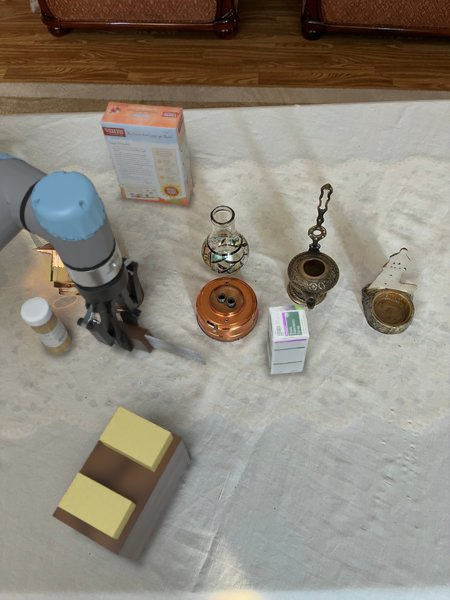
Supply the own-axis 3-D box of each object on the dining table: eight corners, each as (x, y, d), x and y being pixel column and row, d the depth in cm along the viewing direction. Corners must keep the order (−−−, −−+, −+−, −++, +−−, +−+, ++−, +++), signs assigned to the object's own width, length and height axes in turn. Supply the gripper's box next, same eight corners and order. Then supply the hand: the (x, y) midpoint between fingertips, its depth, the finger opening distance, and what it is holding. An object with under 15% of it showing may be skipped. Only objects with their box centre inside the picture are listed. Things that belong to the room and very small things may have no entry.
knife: (107, 338, 94) (97, 326, 91) (114, 327, 95) (104, 315, 92) (203, 372, 84) (195, 359, 81) (210, 359, 85) (202, 346, 82)
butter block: (104, 444, 71) (98, 439, 68) (123, 412, 73) (119, 405, 70) (154, 472, 69) (151, 467, 66) (173, 438, 71) (170, 432, 68)
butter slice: (64, 509, 67) (57, 505, 64) (84, 476, 69) (78, 471, 66) (117, 539, 65) (112, 537, 62) (136, 505, 67) (132, 501, 64)
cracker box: (194, 186, 111) (184, 106, 93) (188, 208, 108) (176, 129, 90) (130, 179, 113) (108, 98, 95) (123, 200, 110) (98, 122, 92)
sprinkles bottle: (60, 328, 96) (34, 290, 84) (78, 341, 94) (54, 304, 82) (42, 347, 94) (13, 311, 82) (60, 360, 92) (33, 326, 81)
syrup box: (303, 373, 90) (312, 336, 77) (268, 376, 90) (272, 340, 77) (298, 342, 93) (306, 302, 80) (264, 345, 92) (267, 306, 80)
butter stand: (81, 528, 79) (51, 515, 67) (137, 433, 86) (119, 406, 73) (138, 562, 76) (117, 555, 64) (191, 461, 83) (181, 438, 71)
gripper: (86, 321, 68) (124, 385, 88) (148, 234, 75) (170, 313, 95) (40, 299, 70) (87, 367, 90) (104, 217, 77) (135, 297, 97)
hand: (130, 339), depth 93 cm, fingers closed on knife, 2 cm apart
